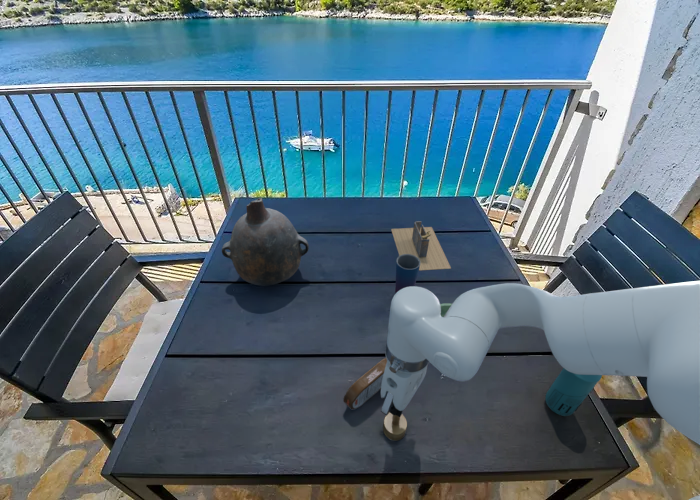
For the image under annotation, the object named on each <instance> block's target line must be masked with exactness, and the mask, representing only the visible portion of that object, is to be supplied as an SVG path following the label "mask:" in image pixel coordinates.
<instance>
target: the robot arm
mask: <svg viewBox="0 0 700 500" xmlns="http://www.w3.org/2000/svg"><path fill="white" fill-rule="evenodd" d="M440 304H441V303H440V300H439V298H438V297H437V296H436V295H435V294H434V293H433V292H432V291H430V290H429V289H427V288H426V287H422V286H417V285H415V286H410V287H405V288H403V289H401V290H399V291H398V292H397V293H396V294H394V295H393V297H392V298H391V302H390V308H389V316H388V326H387V335H386V344H385V345H386V346H385V358H386V359H387V363H386V367H385V370H384V375H383V379H382V384H381V389H380V398H381V399H384V401H383V404H382V407H381V409H380V412H381V413H382V414H383V415H385V416H387V415H388V414H389V413H391V414H392V415H397V416H398V417H401V415H403V411H404V410H405V409H406V408H407V407H408V405H409V404H410V402H411V401H412V399H413V397H414V396H415V394H416V393H417V391H418V389H419V388H420V386H421V384H422V383H423V381H424V379H425V377H426V375H427V371H428V365H429V363H430V364H431V365H432V366H433V367H434V368H436V369H437V371H439V373H441V374H442V375H444V376H445V377H447V378H449V379H451V380H454V381H457V382H468V381H470V380H472V379H473V378H474V377H475V376H476V375H477V373H478V371H479V369H480V368H481V366H482V363H483V362H484V360H485V359H486V355H487V354H488V352H489V351H490V348H491V346H492V343H493V342H494V339H495V338H496V336H497V334H498V332H499V330H500V329H504V328H515V327H516V328H517V327H531V328H536V329H540V330H543V331H544V336H545V338H546V341H547V344H548V347H549V350H550V351H551V354H552V355H553V357H554V359H555V360H556V361H557V363H558V365H560V367H562V369H563V368H565V369H566V370H567V371H569V372H571V373H574V374H579V375H602V376H608V377H609V376H613V377H615V376H616V377H617V376H619V377H646V378H647V379H646V389H647V391H646V392H647V396H648V398H649V401H650V403H651V405H652V406H653V409H654V410H655V411H656V413H657V414H658V415H659V416H660V417H661V418H662V419H663V420H664V421H665V422H666V423H667V424H668V425H669V426H671V427H672V428H674V429H675V430H676V431H678V432H679V433H680V434H682V435H683V436H685V437H687V438H688V439H689V440H691V441H693V442H695V444H698V445H699V446H700V280H694V281H693V280H692V281H691V280H690V281H684V282H683V281H682V282H675V283H665V284H658V285H649V286H642V287H634V288H625V289H617V290H610V291H600V292H592V293H591V292H589V293H584V294H579V295H567V296H565V295H564V296H561V295H560V296H559V295H556V294H553V293H552V292H548V291H547V290H544V289H541V288H538V287H534V286H531V285H526V284H522V283H515V282H505V283H498V284H492V285H487V286H481V287H475V288H472V289H470V290H467V291H465V292H463V293H461V294H459V296H457V298H455V300H454V301H453V302H452V303H451V304H452V305H451V306H450V308H449V309H448V311H447V313H446V314H445V316H444V317H442V316H441V306H440ZM688 500H700V494H699V495H696V496H693V497H691V498H689V499H688Z"/></svg>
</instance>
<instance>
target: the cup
mask: <svg viewBox="0 0 700 500" xmlns="http://www.w3.org/2000/svg"><path fill="white" fill-rule="evenodd" d="M419 267H420V260H419V258H417V257H416V256H414V255H411V254H403V255H400V256H399V255H398V256H397V258H396V261H395V289H394V290H395V291H394V293H395V294H396V293H397V292H398V291H399V290H401V289H403V288H405V287H410V286H416V283H417V279H418V275H419V272H420V270H419ZM395 294H394V295H395Z"/></svg>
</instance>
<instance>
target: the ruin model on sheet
mask: <svg viewBox="0 0 700 500" xmlns="http://www.w3.org/2000/svg"><path fill="white" fill-rule="evenodd" d="M390 230H391V233H392V236H393V240H394V244H395V246H396V250H397V252H398V257H399V256H400V255H403V254H411V255H414V256H416V257H417V258H419V260H420V267H419V271H431V270H432V271H433V270H434V271H435V270H449V269H452V267H451V265H450V263H449V260H448V258H447V256H446V254H445V252H444V250H443V248H442V246H441V243H440V241H439V240H438V237H437V235H436V233H435V230H434V228H433V227H432V226H424V225H423V224H422V221H421V220H420V221H419V220H418V221H417V220H416V221H414V222H413V227H404V228H401V227H400V228H391V229H390Z"/></svg>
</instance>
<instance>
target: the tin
mask: <svg viewBox="0 0 700 500" xmlns="http://www.w3.org/2000/svg"><path fill="white" fill-rule="evenodd" d="M386 363H387V359H386V357H385V358H383V359H381V360H380V361H378V362H377V363H376V364H375V365H373V367H371V368H370V369H369V370H368V371H366V372H365V373H363V375H362V376H360V377H359V378H357V380H355V381H354V382H353V383H352V385H350V387H349V388H348V389H347V391H346V392H345V394H344V396H343V403H344V404H346V405H347V407H348V408H349V409H351V410H352V411H353V410H357V409H359V408H360V407H362V406H363V405H364V404H365V403H367V401H368V400H370V399H371V398H372V397H373V396H375V395H376V394H377V393H378V392H379V391H381V384H382V379H383V375H384V370H385V367H386Z"/></svg>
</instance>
